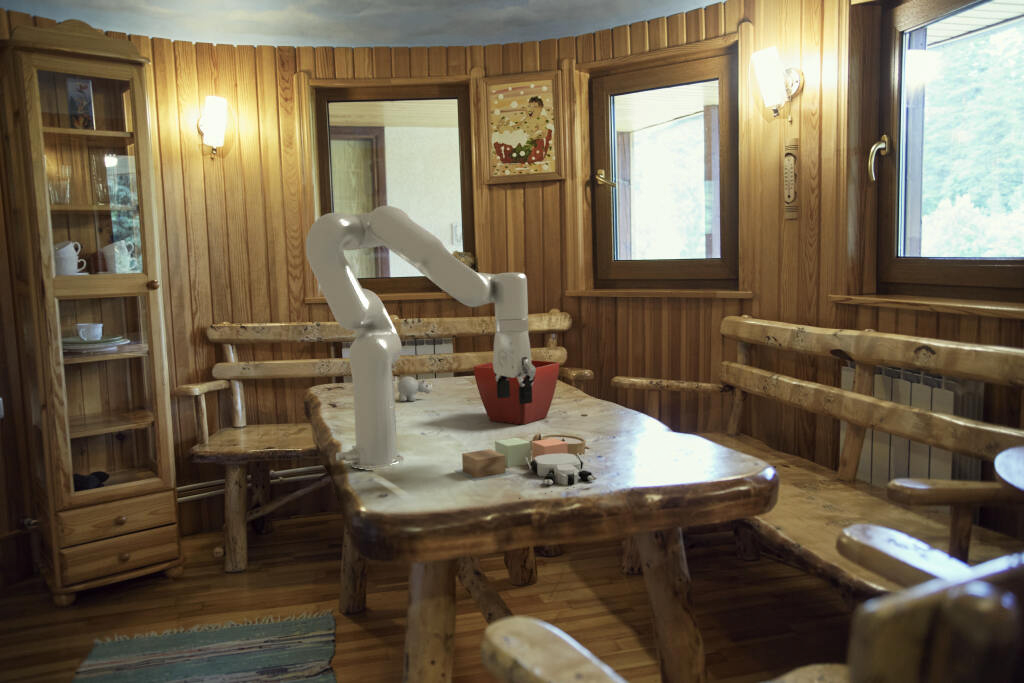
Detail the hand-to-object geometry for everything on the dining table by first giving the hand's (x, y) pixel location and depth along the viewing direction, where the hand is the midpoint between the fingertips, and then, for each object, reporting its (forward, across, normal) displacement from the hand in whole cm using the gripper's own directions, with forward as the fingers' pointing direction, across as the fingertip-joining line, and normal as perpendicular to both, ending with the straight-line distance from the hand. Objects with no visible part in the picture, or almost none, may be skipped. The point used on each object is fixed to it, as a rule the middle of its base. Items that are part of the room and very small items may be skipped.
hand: (514, 400), depth 182 cm
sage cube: (+15, +1, -2) cm, 15 cm away
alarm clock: (+16, -4, +14) cm, 22 cm away
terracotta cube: (+15, +6, +5) cm, 17 cm away
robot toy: (+16, +17, +1) cm, 23 cm away
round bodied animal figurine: (+15, -95, +17) cm, 98 cm away
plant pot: (+15, -45, +28) cm, 55 cm away
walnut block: (+14, +4, -11) cm, 18 cm away
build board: (+15, +4, -11) cm, 19 cm away
